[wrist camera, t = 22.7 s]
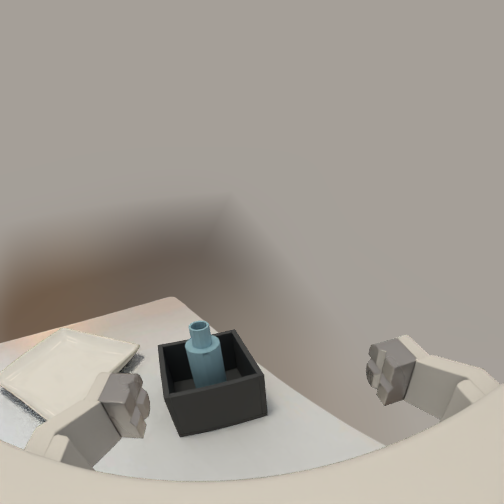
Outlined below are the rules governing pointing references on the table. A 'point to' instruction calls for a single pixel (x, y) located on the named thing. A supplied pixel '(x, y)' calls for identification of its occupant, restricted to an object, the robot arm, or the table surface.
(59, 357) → the square plate
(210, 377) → the bottle
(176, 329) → the table surface
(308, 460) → the table surface
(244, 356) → the bin
